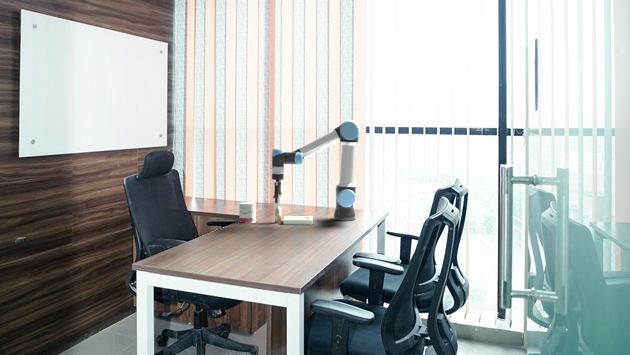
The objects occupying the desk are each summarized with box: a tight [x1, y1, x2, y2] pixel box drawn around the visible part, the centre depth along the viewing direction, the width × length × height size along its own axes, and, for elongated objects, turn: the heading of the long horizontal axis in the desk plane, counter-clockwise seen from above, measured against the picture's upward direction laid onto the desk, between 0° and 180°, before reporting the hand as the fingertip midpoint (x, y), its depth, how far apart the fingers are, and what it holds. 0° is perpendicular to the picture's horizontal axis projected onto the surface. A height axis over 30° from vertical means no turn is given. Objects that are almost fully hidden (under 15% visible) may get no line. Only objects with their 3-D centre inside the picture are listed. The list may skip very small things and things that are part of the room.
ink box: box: [239, 201, 257, 222], centre depth 312 cm, size 9×9×12 cm
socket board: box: [283, 215, 314, 226], centre depth 309 cm, size 18×12×3 cm, turn 89°
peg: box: [274, 206, 282, 224], centre depth 309 cm, size 4×4×10 cm
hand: (277, 206), depth 309 cm, fingers open, 13 cm apart
